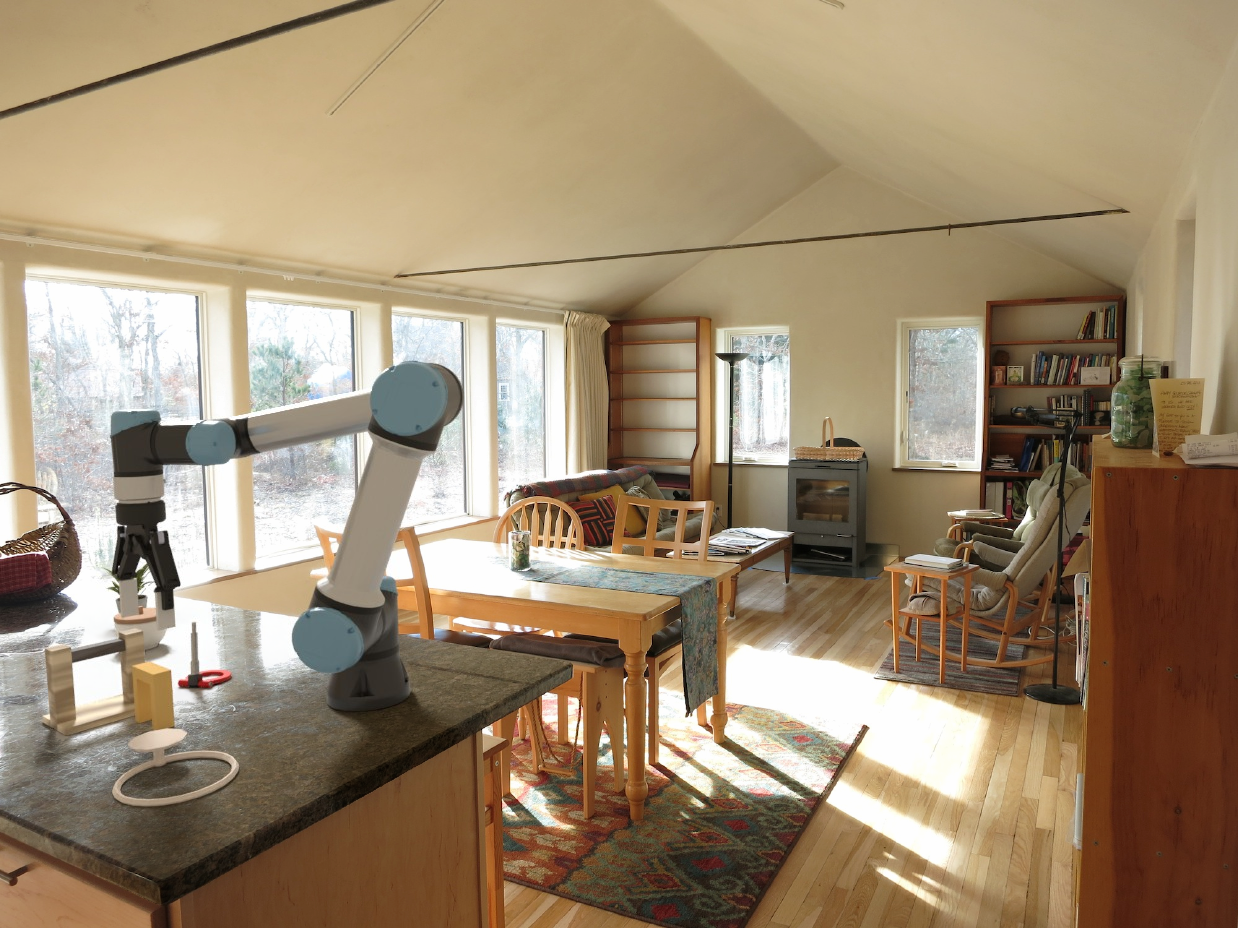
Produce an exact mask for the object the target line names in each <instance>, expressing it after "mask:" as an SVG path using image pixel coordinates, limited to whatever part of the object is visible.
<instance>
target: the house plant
mask: <svg viewBox="0 0 1238 928" xmlns="http://www.w3.org/2000/svg"><path fill="white" fill-rule="evenodd" d="M100 568H101V569H104V570H105V571H106V572H107V573H108V574H109V575H110V576H111V577H112V578H114V580H115V581H116V582H117V583H118V584H117V583H116V582H115V581H113V580H111V582H112V585H113V586H109V587H106V589H107V591H109V590H110V591H113V592H115V593H117V594H118V595H119V596H120V592H119V581H120V580H118V579H117V576H116V575H113V574H112V570H111V569H108V568H106V567H103V566H102V567H100ZM146 572H147V573H146ZM136 573H137V575H138V577H133V578H136V579H137V590H138V606H143V608H148V607H147V605H148V595H146V594H143V592H144V591H142V589H145V585H147V584H150V585H152V584H153V583H154V584H155V582H154V580H153V581H146V582H145V581H144V579H145V578H147V576H148V575H149V574H151V572H150V571H149V567H148V565H147V563H146V564H144V565H143V566H142V567H141V568H139V569H137V570H136ZM137 575H136V576H137ZM144 575H145V576H144ZM133 578H131V579H133ZM140 591H142V592H141V593H140V594H139V592H140ZM115 603H116V607H117V610H118V614H119V613H121V607H120V597H117V598H116V599H115Z"/></svg>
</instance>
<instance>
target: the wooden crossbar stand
mask: <svg viewBox="0 0 1238 928" xmlns="http://www.w3.org/2000/svg"><path fill="white" fill-rule="evenodd" d="M117 653H119V656H120V658H119V659H120V673H121V686H122V689H121V690H122V693H120V694H119V695H113V696H109V697H107V698H103V699H99V700H96V701H92V702H89V703H85V704H81V705H80V704H79V705H78V706H76V696H75V683H74V682H75V681H74V670H73V664H75V663H79V662H82V661H88V660H91V659H95V658H100V657H104V656H108V655H112V654H117ZM145 654H146V653H145V650H144V637H143V631H142V630H139V629H136V628H135V629H131V630H126V631H122V632H119V638H113V639H110V640H105V641H101V642H96V643H93V644H88V645H84V646H78V647H74V648H72V646H71V645H70V646H69V645H67V644H65V643H63V644H59V645H54V646H50V647H45V648H44V658H45V670H46V671H45V672H46V682H47V695H48V696H47V697H48V709H49V713H48V714H44V715H42V716H41V717H42V724H45V725H47V726H48V727H50V728H52V729H53V728H54V729H53V730H55V731H57V732H58V733H61V734H62V735H64V736H70V735H72V734H76V733H79V732H83V731H87V730H89V729H94V728H97V727H100V726H104V725H107V724H110V723H114V722H116V721H117V722H118V721H121V720H124V719H127V718H131V717H134V716H135V704H134V689H133V674H132V666H134V665H138V664H142V663H146V655H145Z"/></svg>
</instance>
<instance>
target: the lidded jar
mask: <svg viewBox="0 0 1238 928" xmlns="http://www.w3.org/2000/svg"><path fill="white" fill-rule="evenodd" d="M113 622H114V629H115V631H114V632H115V634H116V637H117V638H116V639H118V638H119V632H122V631H126V630H131V629H135V628H136V629H139V630H142V631H143V637H144V651H145V650H146V651H147V650H152V649H154V648H156V647H158V646H159V643H160V642H161V641H162V640H163V639H164V638H165V636H166V633H167V630H168V628H167V629H163V630H157V620H156V607H146V608H143V606H139V615H134V616H129V617H124V618H122V617H121V613H119V612H118V613H117V614H115V615H114V616H113Z"/></svg>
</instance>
